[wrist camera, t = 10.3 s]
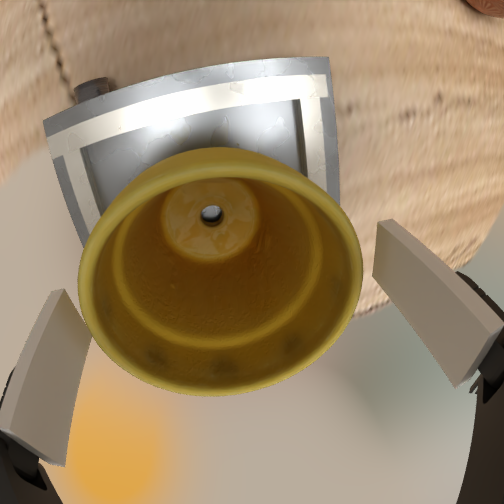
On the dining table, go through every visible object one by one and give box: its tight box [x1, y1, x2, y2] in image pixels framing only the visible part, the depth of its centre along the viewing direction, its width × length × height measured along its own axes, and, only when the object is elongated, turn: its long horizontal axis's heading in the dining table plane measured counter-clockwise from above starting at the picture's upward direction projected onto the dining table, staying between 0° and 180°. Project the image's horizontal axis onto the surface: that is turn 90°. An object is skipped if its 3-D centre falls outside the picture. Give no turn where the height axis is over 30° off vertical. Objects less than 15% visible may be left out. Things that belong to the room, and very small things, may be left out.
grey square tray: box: [43, 57, 340, 248], centre depth 18 cm, size 19×18×8 cm
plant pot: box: [78, 147, 363, 396], centre depth 14 cm, size 10×10×10 cm
